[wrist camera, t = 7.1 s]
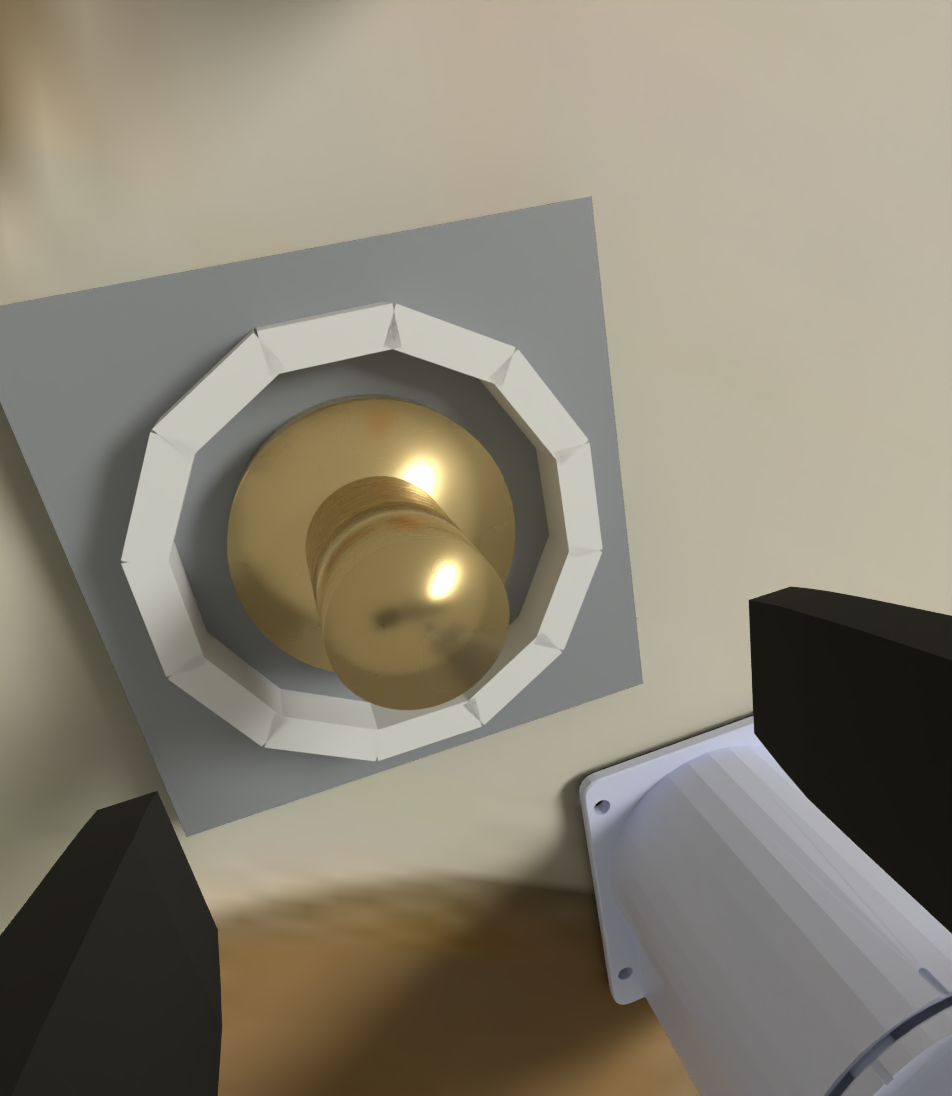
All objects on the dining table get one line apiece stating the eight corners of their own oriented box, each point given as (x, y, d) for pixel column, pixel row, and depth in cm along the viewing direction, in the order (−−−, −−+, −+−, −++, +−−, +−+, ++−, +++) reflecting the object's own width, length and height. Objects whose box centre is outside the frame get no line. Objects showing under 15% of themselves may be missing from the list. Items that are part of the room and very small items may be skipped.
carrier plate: (625, 665, 21) (666, 706, 19) (189, 809, 18) (182, 873, 16) (572, 201, 16) (618, 189, 14) (-20, 311, 14) (-66, 315, 12)
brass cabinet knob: (512, 621, 18) (601, 735, 13) (262, 681, 17) (267, 830, 12) (486, 373, 16) (583, 409, 11) (196, 419, 14) (172, 479, 10)
